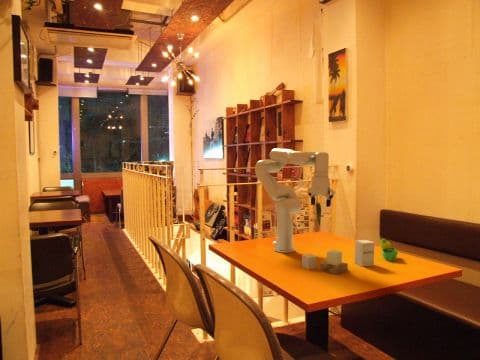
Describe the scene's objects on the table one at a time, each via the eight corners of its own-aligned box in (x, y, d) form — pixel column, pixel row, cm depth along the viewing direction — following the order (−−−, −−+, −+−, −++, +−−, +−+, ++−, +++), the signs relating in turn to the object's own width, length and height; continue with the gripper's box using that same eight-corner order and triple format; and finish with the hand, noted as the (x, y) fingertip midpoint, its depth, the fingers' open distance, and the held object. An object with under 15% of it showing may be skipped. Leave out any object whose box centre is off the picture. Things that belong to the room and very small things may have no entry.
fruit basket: (398, 261, 208) (398, 241, 208) (381, 260, 210) (381, 240, 209) (394, 256, 220) (394, 237, 219) (378, 255, 221) (378, 236, 221)
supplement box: (362, 267, 198) (362, 243, 197) (354, 263, 205) (354, 240, 204) (374, 266, 200) (375, 242, 199) (366, 262, 207) (366, 239, 206)
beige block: (326, 263, 191) (326, 251, 191) (331, 261, 196) (332, 249, 195) (336, 265, 188) (336, 253, 188) (341, 263, 192) (341, 251, 192)
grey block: (301, 266, 199) (301, 255, 198) (310, 265, 201) (310, 254, 201) (308, 269, 194) (308, 257, 193) (316, 268, 196) (317, 256, 196)
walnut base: (320, 271, 192) (320, 263, 191) (329, 267, 199) (329, 259, 199) (338, 275, 185) (338, 267, 185) (347, 271, 192) (347, 263, 192)
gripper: (304, 174, 212) (303, 204, 213) (331, 175, 200) (330, 208, 201) (311, 173, 217) (311, 203, 218) (338, 175, 205) (338, 206, 206)
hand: (320, 205), depth 209 cm, fingers open, 9 cm apart
